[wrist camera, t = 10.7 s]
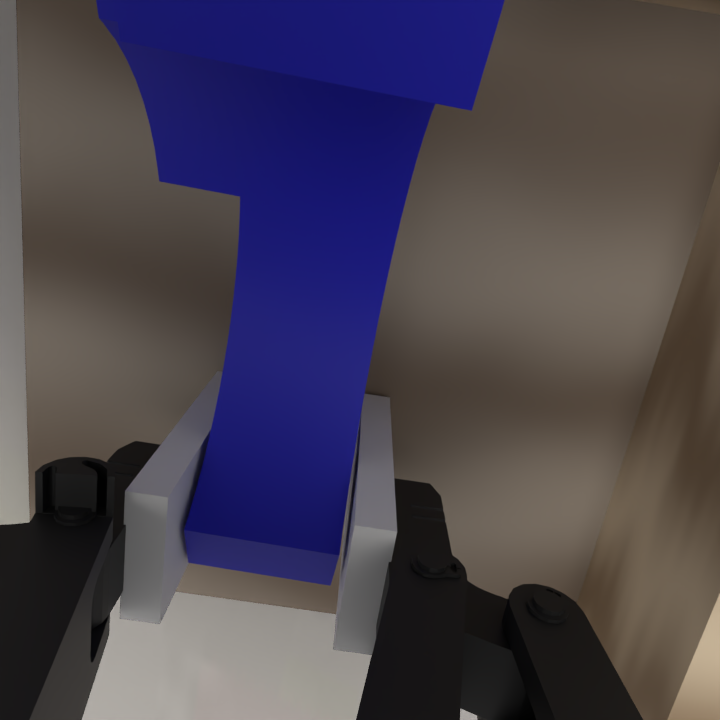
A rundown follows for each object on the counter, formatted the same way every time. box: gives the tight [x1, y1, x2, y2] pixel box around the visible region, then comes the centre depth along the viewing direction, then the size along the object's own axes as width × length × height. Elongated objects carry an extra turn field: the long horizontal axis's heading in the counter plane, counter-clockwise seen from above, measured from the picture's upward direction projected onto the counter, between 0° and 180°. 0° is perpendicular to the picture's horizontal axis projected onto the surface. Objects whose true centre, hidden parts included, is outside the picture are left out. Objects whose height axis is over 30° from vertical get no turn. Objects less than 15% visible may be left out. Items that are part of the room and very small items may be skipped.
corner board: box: [16, 0, 720, 720], centre depth 14 cm, size 20×18×6 cm
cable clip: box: [96, 0, 505, 586], centre depth 11 cm, size 12×4×6 cm, turn 169°
